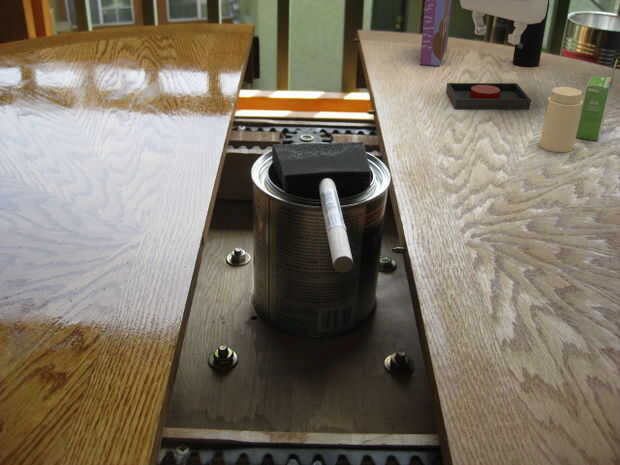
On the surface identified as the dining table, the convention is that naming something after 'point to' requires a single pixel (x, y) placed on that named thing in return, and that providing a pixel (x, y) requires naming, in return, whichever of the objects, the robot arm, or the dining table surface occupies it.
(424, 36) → the cereal box
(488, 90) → the jar lid
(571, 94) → the jar
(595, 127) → the ink box
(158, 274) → the dining table surface
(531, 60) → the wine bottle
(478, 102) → the tray
